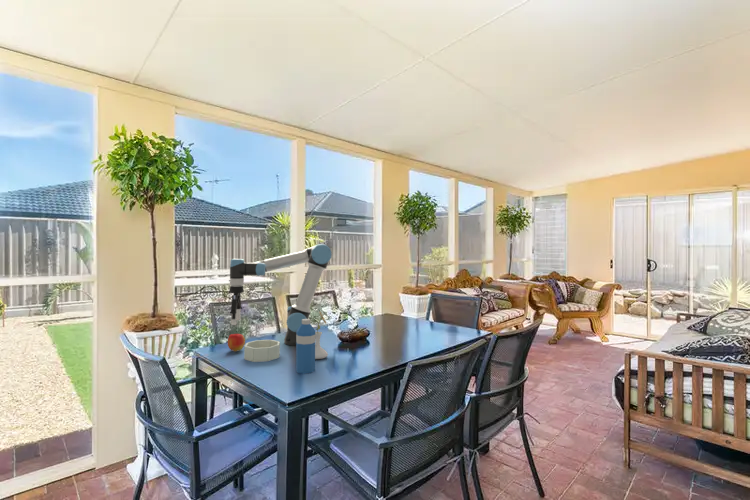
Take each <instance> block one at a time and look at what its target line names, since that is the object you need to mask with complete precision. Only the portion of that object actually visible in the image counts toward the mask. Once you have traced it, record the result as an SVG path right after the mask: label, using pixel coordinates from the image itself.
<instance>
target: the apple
mask: <svg viewBox="0 0 750 500" xmlns="http://www.w3.org/2000/svg"><path fill="white" fill-rule="evenodd" d="M245 344H246V338H245V336H244V335H243V334H241V333H232V334H229V335H228V338H227V347H228V349H229V350H230V351H233V352H239V351H241V350H243V349H244V346H245Z"/></svg>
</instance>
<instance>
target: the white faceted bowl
mask: <svg viewBox="0 0 750 500" xmlns="http://www.w3.org/2000/svg"><path fill="white" fill-rule="evenodd" d="M280 348H281V343H280V341H278V340H275V339H256V340H252V341H248V342H245V345H244V347H243V349H244V350H243V351H244V353H243V356H244V357H243V359H244V360H245V361H249V362H253V363H259V362H262V363H263V362H269V361H273V360H276V359H279V358H280V356H281V353H280V351H281V349H280Z"/></svg>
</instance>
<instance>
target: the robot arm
mask: <svg viewBox="0 0 750 500" xmlns="http://www.w3.org/2000/svg"><path fill="white" fill-rule="evenodd" d="M332 254H333V253H332V250H331V248H330V247H329V246H328V245H327V244H324V243H318V244H316V245H315V244H314V245H313V246H311V247H308V248H305V249H304V250H302V251H298V252H297V251H296V252H293V253H289V254H285V255H280V256H275V257H272V258H271V257H270V258H267V259H264V260H263V259H262V260H259V261H258V260H257V261H254V262H245V259H243V258H232V259H231V260H230V265H229V279H228V282H229V285H230V286H229V293H232V294H233V295H232V296H231V305H230V306H231V307H230V312H229V314H231V316H230V318H231V320H230V325H231V326H236V325H237V321H241V310H242V309H243V307H242V300H241V294H242V293H244V288H245V287H244V283H245V282H244V280H245V279H244V277H245V276H255V277H256V276H258V277H260V276H265V275H266V273H267V272H272V271H275V270H280V269H285V268H289V267H294V266H297V265H301V264H305V263H307V264H308V268H307V270H306V273H305V276H304V280H303V282H302V285H301V287H300V291H299V293H298V296H297V297H296V298H297V299H296V301H295V303H294V304H293V305H290V306H288V307H287V310H286V314H287V317H286V326H287V327H286V334H285V336H284V340H283V341H284V342H283V343H284V345H287V346H296V331H297V329H298V328H299V327H300V325H301V324H302V319H310V318H309V317H310V314H311V309H310V307H311V304H312V301H313V298H314V297H315V293H316V291H317V287H318V285H319V282H320V280H321V276H322V273H323V271H325V270H327V267H328V264H329V262H330V260H331V258H332Z"/></svg>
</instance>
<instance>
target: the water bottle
mask: <svg viewBox="0 0 750 500" xmlns="http://www.w3.org/2000/svg"><path fill="white" fill-rule="evenodd" d="M315 332H316V329H315V328H314V327H313V326H312V324H311V319H310V318H308V319H302V324H301V325H300V327H299V328H298V329H297V331H296V345H295V346H296V347H295V371H296V373H298V374H302V375H303V374H304V375H305V374H311V373H313V372H315V371H316V359H315V344H316V340H315Z"/></svg>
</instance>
